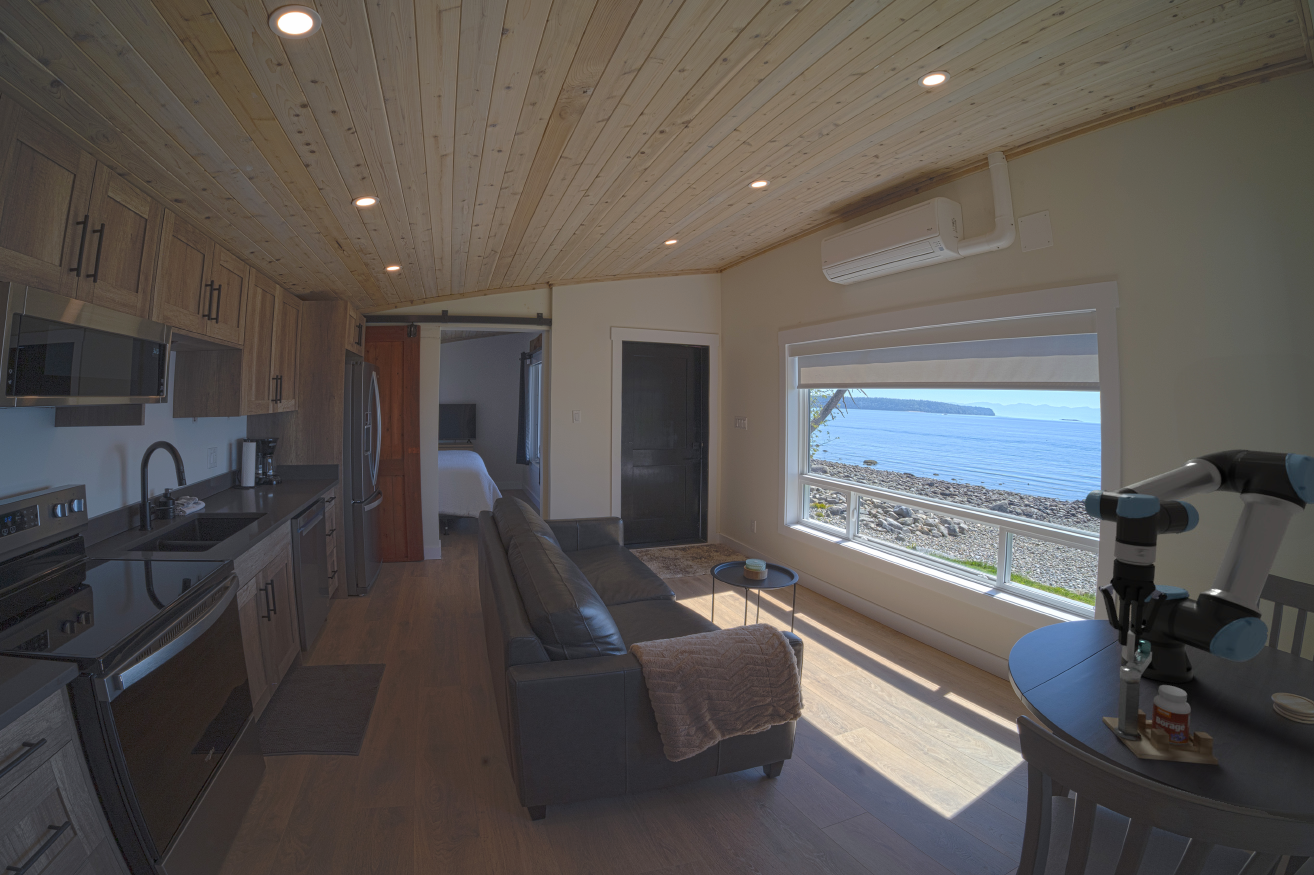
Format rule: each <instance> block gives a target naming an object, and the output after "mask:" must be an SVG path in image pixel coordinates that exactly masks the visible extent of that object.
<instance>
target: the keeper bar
mask: <svg viewBox="0 0 1314 875" xmlns="http://www.w3.org/2000/svg"><path fill="white" fill-rule="evenodd" d="M1150 649H1151V643H1150V642H1149V641H1146V640H1140V641H1139V646H1138V650H1137V651H1136V653H1135V654H1134V655H1133V656H1132V658H1131V659H1130V660H1129V662H1128V663H1127V664H1126V666H1123V665H1122V666H1120V668H1119V679H1120V678H1121V679H1122V680H1124V681H1126V682H1129V683H1139V684H1140V683H1141V680H1142V676H1141V675H1142V673H1143V672H1144V671H1145V669H1146V668H1147V666H1148V665H1149V663H1150V662H1151V660H1152V652H1150Z"/></svg>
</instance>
